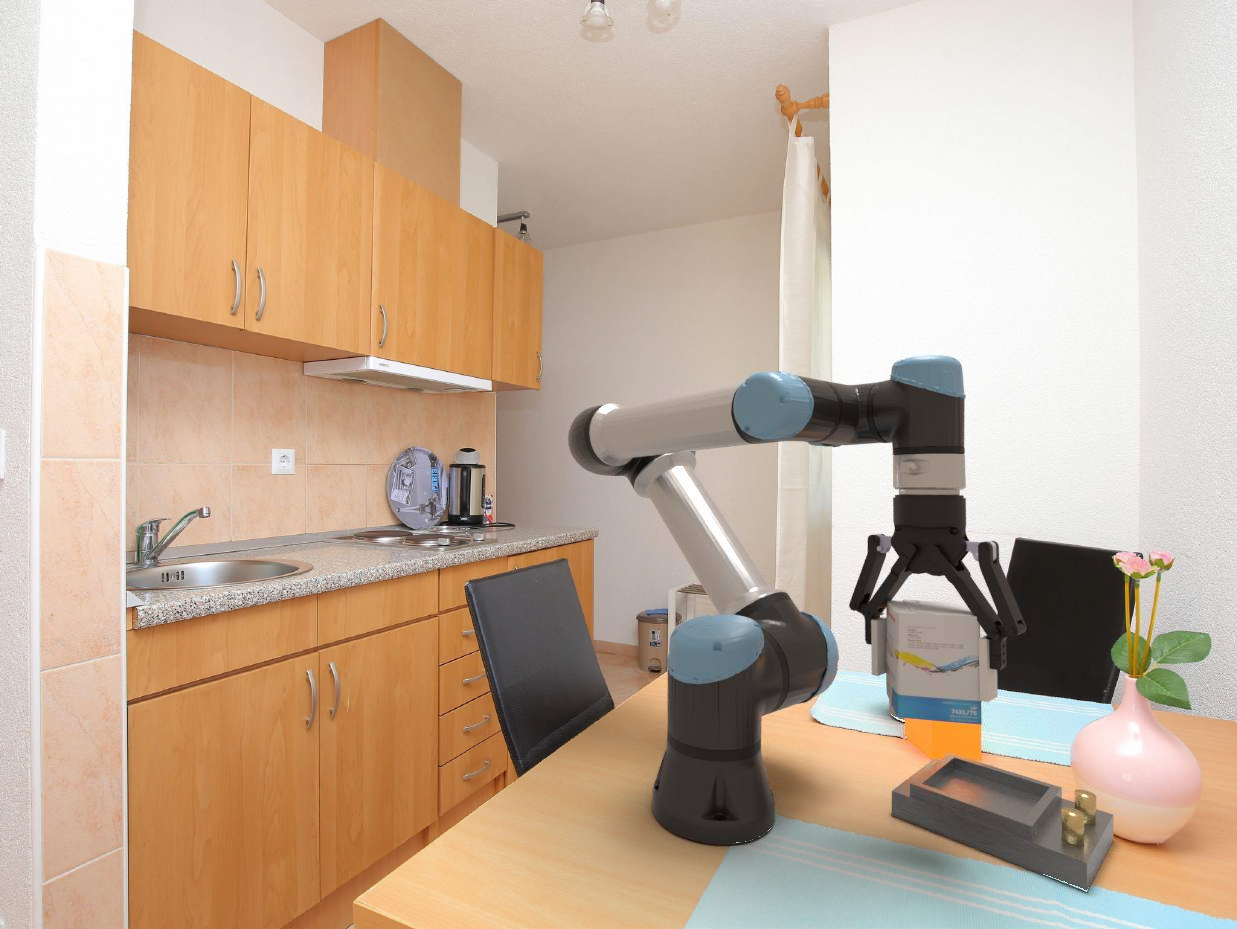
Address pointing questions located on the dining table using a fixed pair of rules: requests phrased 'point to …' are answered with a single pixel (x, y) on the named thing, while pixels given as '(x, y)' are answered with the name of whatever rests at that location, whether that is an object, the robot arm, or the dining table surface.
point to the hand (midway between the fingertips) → (931, 685)
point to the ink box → (933, 661)
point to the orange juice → (944, 738)
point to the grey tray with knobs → (1008, 817)
